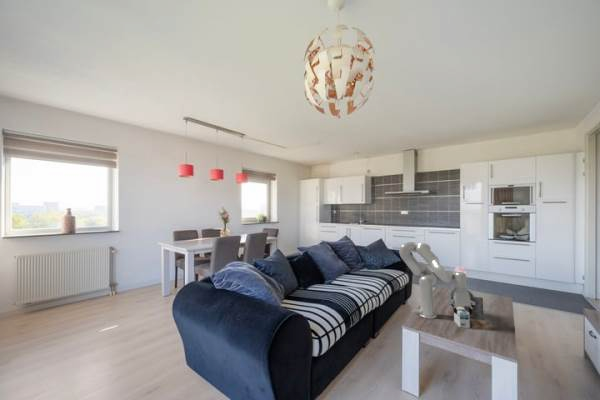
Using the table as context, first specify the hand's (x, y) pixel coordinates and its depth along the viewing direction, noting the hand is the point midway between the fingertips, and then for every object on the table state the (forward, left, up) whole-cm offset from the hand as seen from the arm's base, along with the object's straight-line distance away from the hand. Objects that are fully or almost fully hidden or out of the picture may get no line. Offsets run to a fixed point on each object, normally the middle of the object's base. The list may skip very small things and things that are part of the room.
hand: (462, 313), depth 183 cm
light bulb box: (-1, 0, -8) cm, 8 cm away
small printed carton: (+10, +1, -8) cm, 13 cm away
